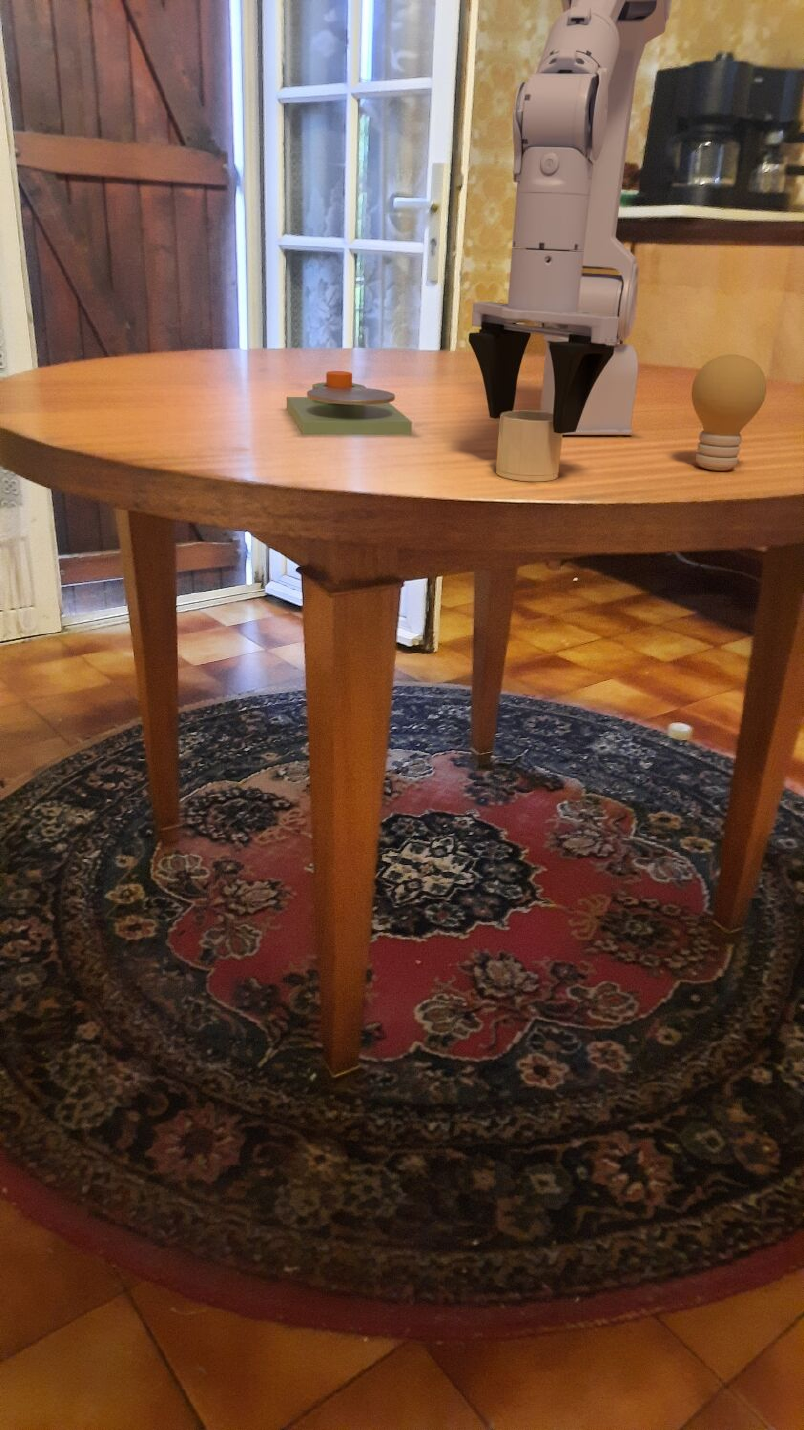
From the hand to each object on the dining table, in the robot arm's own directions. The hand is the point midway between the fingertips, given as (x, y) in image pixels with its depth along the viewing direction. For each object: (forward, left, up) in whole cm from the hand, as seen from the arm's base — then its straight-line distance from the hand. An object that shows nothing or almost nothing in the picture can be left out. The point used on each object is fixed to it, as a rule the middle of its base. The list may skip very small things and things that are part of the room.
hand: (531, 424), depth 87 cm
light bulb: (-19, -2, -4) cm, 20 cm away
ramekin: (0, 0, -4) cm, 4 cm away
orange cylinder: (+12, -30, -2) cm, 32 cm away
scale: (+12, -25, -4) cm, 28 cm away
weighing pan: (+12, -22, -1) cm, 25 cm away
